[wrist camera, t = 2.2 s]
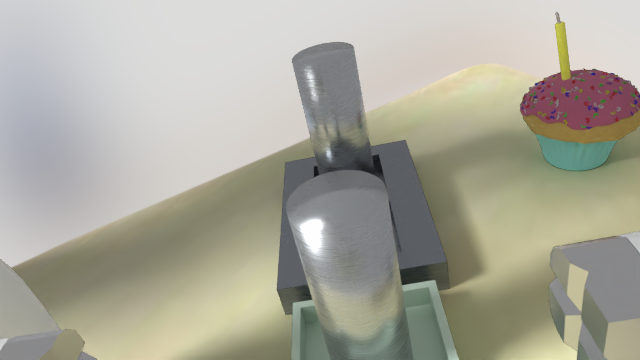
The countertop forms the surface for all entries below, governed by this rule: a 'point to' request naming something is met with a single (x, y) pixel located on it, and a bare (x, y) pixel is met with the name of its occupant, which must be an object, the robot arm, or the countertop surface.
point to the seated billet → (334, 107)
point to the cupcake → (580, 112)
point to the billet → (351, 265)
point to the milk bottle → (20, 307)
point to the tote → (422, 315)
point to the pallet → (406, 214)
